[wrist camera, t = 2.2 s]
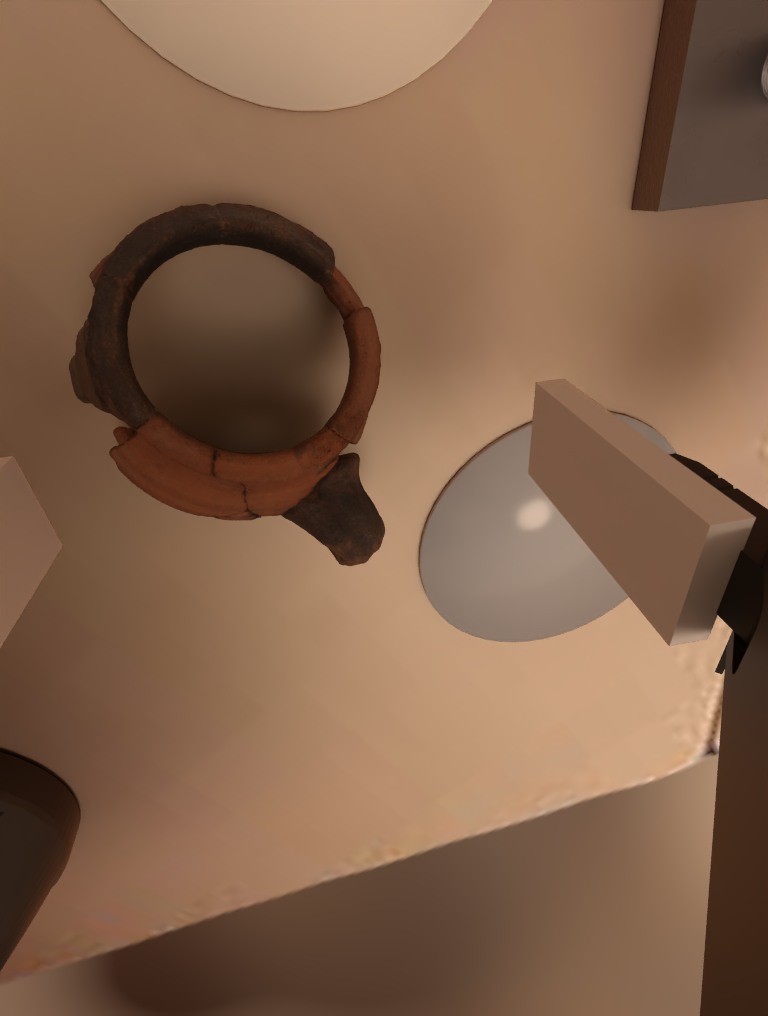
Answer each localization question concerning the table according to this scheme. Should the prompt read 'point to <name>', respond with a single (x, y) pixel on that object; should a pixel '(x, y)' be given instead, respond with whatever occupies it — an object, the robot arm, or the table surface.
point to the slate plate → (512, 550)
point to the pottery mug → (203, 468)
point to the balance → (707, 107)
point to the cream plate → (301, 45)
